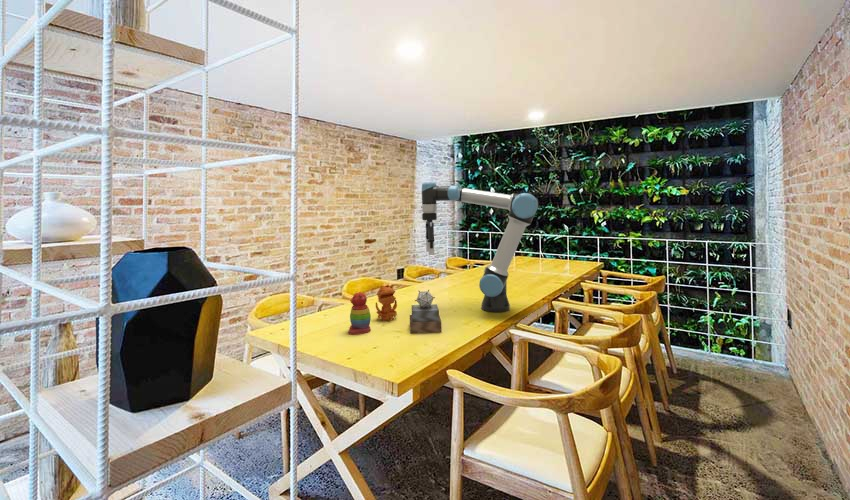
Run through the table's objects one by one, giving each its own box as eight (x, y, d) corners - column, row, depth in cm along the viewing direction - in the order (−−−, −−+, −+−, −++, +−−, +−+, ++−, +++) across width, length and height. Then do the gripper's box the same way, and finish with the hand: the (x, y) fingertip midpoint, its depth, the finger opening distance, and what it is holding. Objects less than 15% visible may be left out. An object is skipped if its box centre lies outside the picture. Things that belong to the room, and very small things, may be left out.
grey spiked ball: (428, 316, 200) (432, 302, 193) (411, 309, 201) (414, 294, 194) (434, 302, 206) (438, 288, 200) (417, 296, 207) (421, 282, 201)
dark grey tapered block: (438, 324, 208) (438, 303, 207) (441, 332, 196) (441, 310, 194) (409, 325, 208) (409, 304, 206) (410, 333, 195) (409, 311, 194)
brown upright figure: (381, 323, 211) (380, 287, 209) (372, 318, 221) (371, 283, 219) (401, 320, 216) (401, 284, 214) (393, 315, 226) (392, 281, 224)
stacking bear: (349, 327, 205) (348, 290, 203) (371, 327, 206) (370, 290, 204) (347, 335, 194) (346, 295, 192) (370, 334, 195) (369, 295, 193)
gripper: (420, 212, 238) (421, 250, 240) (424, 213, 213) (425, 256, 216) (434, 211, 238) (434, 250, 241) (439, 213, 214) (440, 255, 216)
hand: (430, 253), depth 228 cm, fingers open, 13 cm apart
